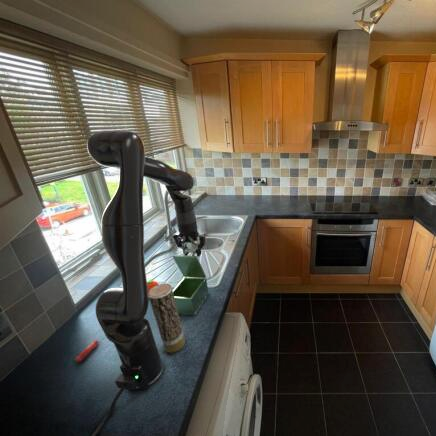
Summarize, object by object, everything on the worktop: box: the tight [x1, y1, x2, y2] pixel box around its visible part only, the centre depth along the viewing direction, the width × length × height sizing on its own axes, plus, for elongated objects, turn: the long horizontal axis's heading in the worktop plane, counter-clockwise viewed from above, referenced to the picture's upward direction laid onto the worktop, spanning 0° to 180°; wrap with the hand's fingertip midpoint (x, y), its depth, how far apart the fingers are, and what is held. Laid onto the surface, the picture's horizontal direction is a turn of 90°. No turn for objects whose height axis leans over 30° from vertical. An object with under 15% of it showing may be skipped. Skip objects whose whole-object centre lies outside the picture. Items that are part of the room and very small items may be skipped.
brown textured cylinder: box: [148, 283, 186, 354], centre depth 81 cm, size 7×7×25 cm
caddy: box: [172, 276, 210, 317], centre depth 104 cm, size 14×11×9 cm
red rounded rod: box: [75, 339, 100, 363], centre depth 83 cm, size 8×2×2 cm, turn 174°
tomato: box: [147, 279, 159, 292], centre depth 110 cm, size 8×7×7 cm
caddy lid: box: [171, 248, 207, 279], centre depth 106 cm, size 14×11×6 cm
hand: (192, 255), depth 106 cm, fingers closed on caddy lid, 5 cm apart
